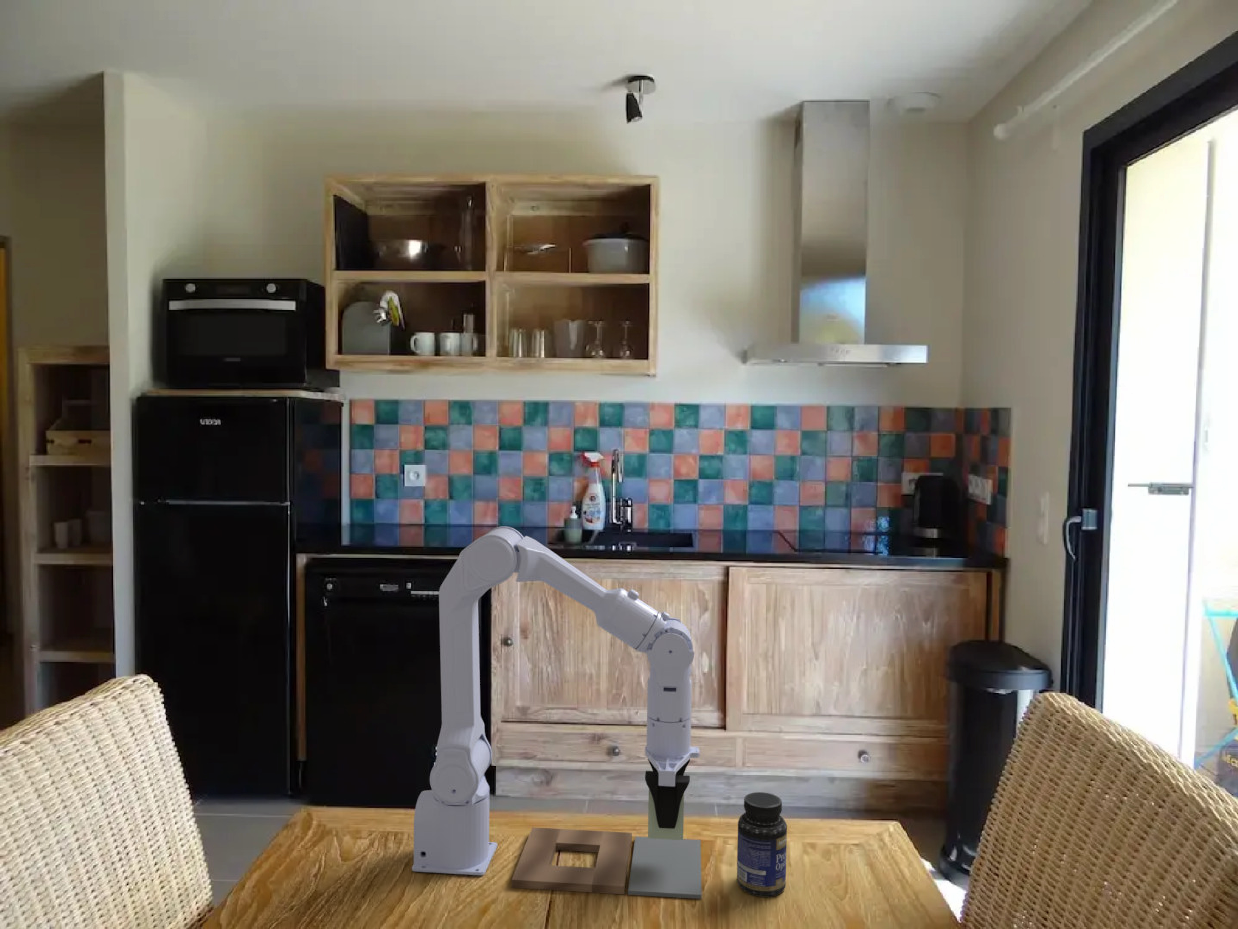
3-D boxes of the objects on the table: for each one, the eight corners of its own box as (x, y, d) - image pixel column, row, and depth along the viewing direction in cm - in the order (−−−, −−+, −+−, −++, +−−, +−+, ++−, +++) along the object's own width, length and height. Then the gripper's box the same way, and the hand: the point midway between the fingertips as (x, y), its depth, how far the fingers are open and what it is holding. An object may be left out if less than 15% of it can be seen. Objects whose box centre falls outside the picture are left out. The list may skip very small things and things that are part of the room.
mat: (628, 894, 106) (628, 890, 106) (635, 840, 120) (635, 836, 120) (701, 899, 106) (701, 895, 106) (700, 843, 119) (700, 840, 119)
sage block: (647, 838, 111) (648, 792, 110) (649, 822, 115) (650, 778, 115) (683, 840, 110) (684, 794, 110) (683, 824, 115) (684, 779, 114)
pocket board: (511, 887, 107) (511, 879, 107) (532, 834, 121) (532, 827, 121) (623, 894, 106) (624, 886, 106) (631, 840, 120) (631, 832, 120)
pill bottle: (785, 901, 105) (787, 813, 105) (734, 895, 106) (736, 807, 106) (785, 876, 111) (787, 791, 111) (738, 870, 113) (739, 787, 112)
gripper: (700, 736, 104) (698, 846, 105) (699, 698, 119) (697, 795, 119) (642, 734, 105) (640, 843, 106) (648, 696, 119) (646, 793, 120)
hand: (667, 818), depth 113 cm, fingers closed on sage block, 4 cm apart
